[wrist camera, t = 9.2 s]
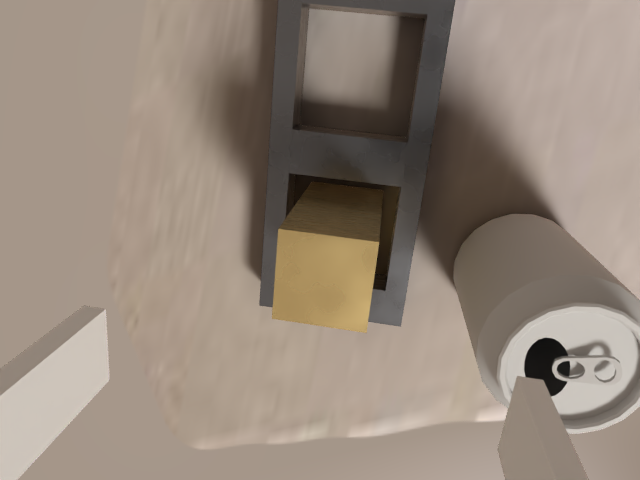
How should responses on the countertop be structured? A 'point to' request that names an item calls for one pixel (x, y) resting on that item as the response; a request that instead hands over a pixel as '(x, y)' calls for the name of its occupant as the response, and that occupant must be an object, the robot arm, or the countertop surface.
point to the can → (550, 320)
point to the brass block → (328, 257)
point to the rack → (353, 141)
